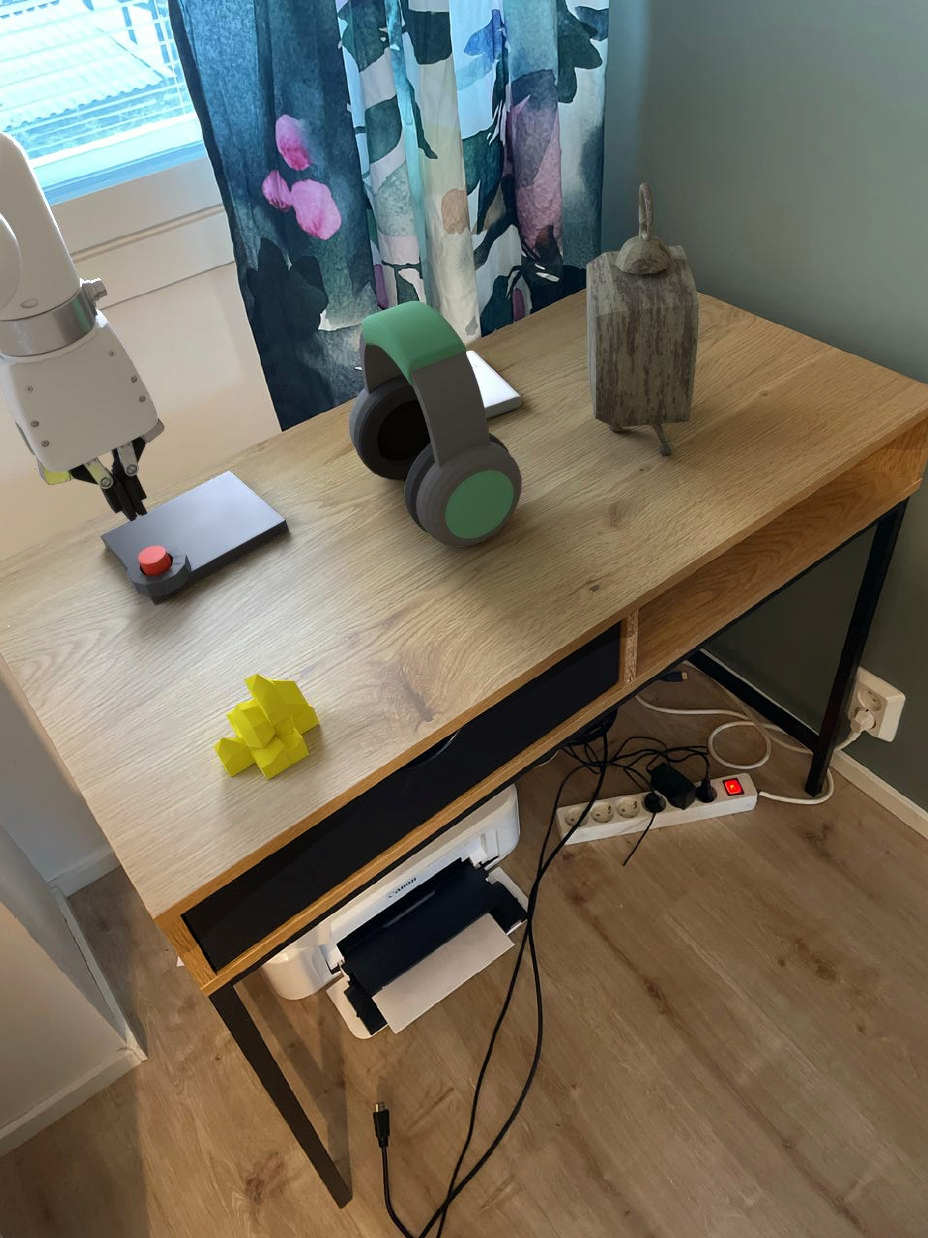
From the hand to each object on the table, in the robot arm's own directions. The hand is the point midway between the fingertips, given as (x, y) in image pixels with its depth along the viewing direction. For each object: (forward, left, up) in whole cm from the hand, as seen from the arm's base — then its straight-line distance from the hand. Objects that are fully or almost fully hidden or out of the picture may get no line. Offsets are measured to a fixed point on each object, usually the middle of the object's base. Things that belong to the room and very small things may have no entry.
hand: (132, 510), depth 80 cm
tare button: (0, 0, -7) cm, 7 cm away
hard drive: (+38, +16, -10) cm, 42 cm away
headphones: (+28, -1, -10) cm, 29 cm away
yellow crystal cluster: (+5, -23, -10) cm, 25 cm away
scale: (+4, +6, -9) cm, 12 cm away
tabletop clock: (+51, 0, -10) cm, 52 cm away
